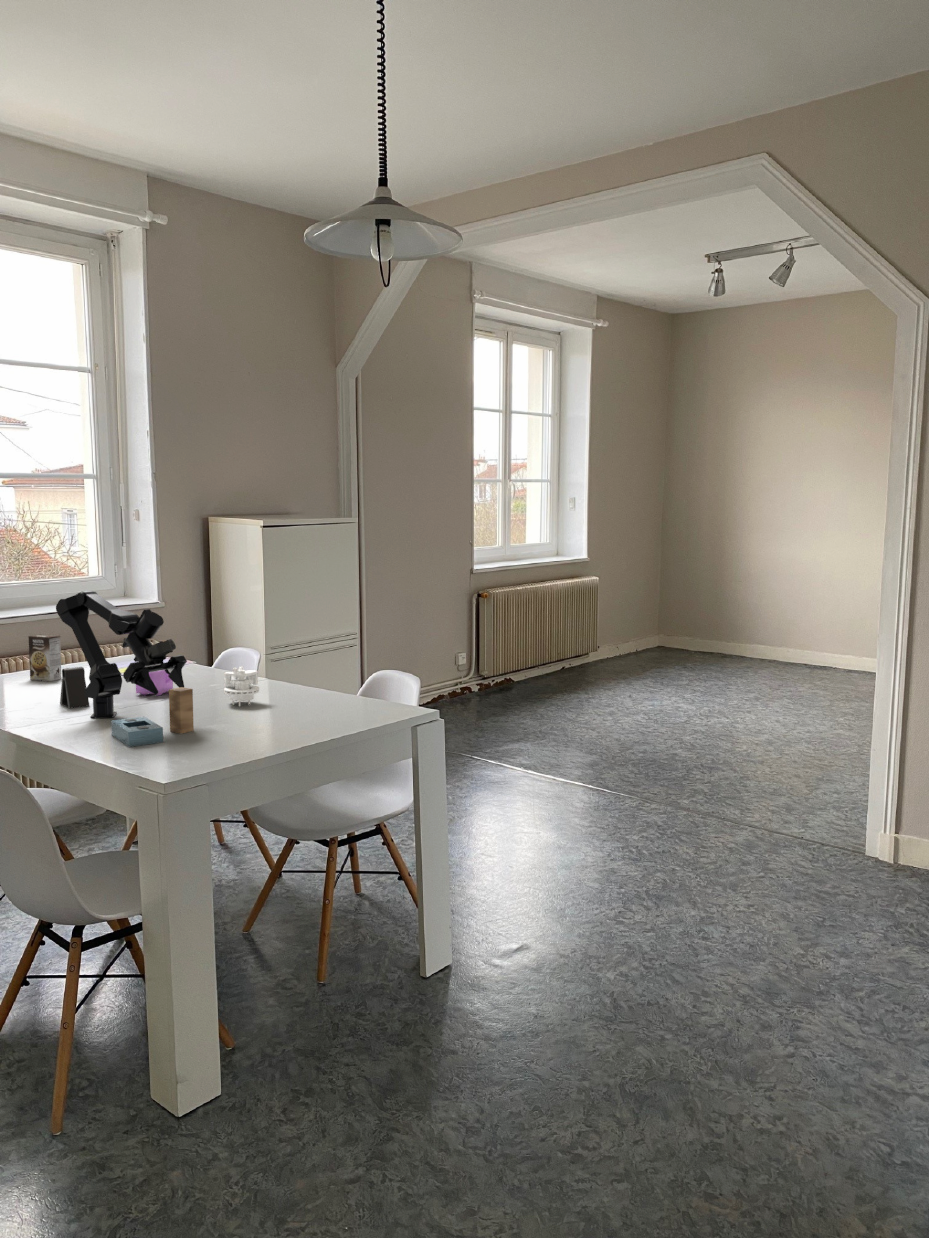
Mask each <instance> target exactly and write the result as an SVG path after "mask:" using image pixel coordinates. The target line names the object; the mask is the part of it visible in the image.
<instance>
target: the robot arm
mask: <svg viewBox="0 0 929 1238" xmlns="http://www.w3.org/2000/svg"><path fill="white" fill-rule="evenodd" d="M89 610H90V611H91V612H93V613H95V614H96V615H97V616H99V617H100V618H102V619H103V620H105V621H106V622H107V624H108V628H109V629H111V631H112V632H113V633H114V634H116V635H117V636H122V635H127V636H126V637H124V638H123V642H122V645H121V646H122V648H123V649H124V648H129V649H130V650H131V652H132V654H133V655H134V658H133V661H134V662H130V663H129V664H128V666H127V668H126V669H125V670H124V672H123V674H122V673H121V671H120V669H119V668H118V664H117V663H116V662H113V663H110V662H108V661H107V659H106V657H105V654H104V653H103V650H102V649H101V647H100V644H99V642H98V640H97V638H96V635H95V634H94V632H93V629H92V627H91V625H90V623H89V615H90V611H89ZM55 611H56V612H57V615H58V617H59V618H60V619H61V620H60V621H62V622H63V623H64V624H65V625H66V626H68V627H69V628H70V629H71V630H72V632H73V634H74V636H75V638H76V640H77V643H78V644H79V646H80V649H81V652H82V653H83V655H84V657H85V659H86V662H87V664H88V666H89V668H90V669H89V676H88V679H89V684H87V685H86V689H85V694H86V697H88V699H92V707H93V708H92V709H93V711H92V712H93V713H92V714H91V715H90V716H89V717H90V719H105V718H106V719H107V718H108V719H109V718H114V717H115V716H116V715H117V714H118V711H115V706H114V696H117V695H120V694H121V690H122V687H123V686H122V684H123V679H124V681H125V682H126V683H127V684H128V683H131V684H132V685H135V686H136V685H138V686H140V687H143V688H145V689H146V690H148V691H150V692H152V693H154V694H153V695H155V696H158V695H157V694H158V690H157V688H156V686H155V684H154V683H153V681H152V680H151V678H150V676H149V672H156V671H161V670H165V672H166V673H167V674H169V675H168V677H169V678H170V679H171V680H172V681H173V684H175V685H176V687H177V688H179V687H184V688H185V683H184V679H183V673H182V671H183V668H184V667H185V665H186V664H187V662H188V660H187V658H185V656H184V655H182V654H181V655H172V656H170V658H169V659H168V660H167V661H166V662H164V660H166V659H167V655H169V654H170V653H173V652H174V650H176V648H177V646H176V644H175V642H174V640H173V639H172V638H171V639H166V640H165V641H160V642H156V643H152V642H151V639H153V638H154V637H155V636H156V635H157V633H158V632H159V631H160V629H161V627H162V626H163V625H164V622H165V621H164V618H163V617H162V616H161V615H159V613H156V612H154V611H152V610H151V609H150V608H147V609H143V611H142V613H141V614H140V616H139V615H138V614H136V613H135V612H131V611H129V610H122V609H120V608H119V607H116V606H115V605H114V604H112V603H111V602H109V601H108V600H106V599H105V598H103V597H102V596H100V595H99V594H98V592H96V591H93V590H87V591H86V590H84V591H81V592H77V594H75V595H71V596H68V597H66V598H60V599H59V600H58V602H57V603H56V606H55ZM121 675H123V676H121ZM122 677H123V678H122Z"/></svg>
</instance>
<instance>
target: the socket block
mask: <svg viewBox="0 0 929 1238" xmlns="http://www.w3.org/2000/svg"><path fill="white" fill-rule="evenodd" d="M110 722H111V735H112V736H113V737H114V738H116V739H117V740H118V741H120V742H121V743H123V744H124V745H126V747H129V748H130V747H138V746H145V745H152V744H160V743H164V728H163V727H162V726H161V725H159V724H157V723H156V722H154V721H153V720H151V719H149V718H148V717H145V716H138V717H131V718H130V717H129V718H128V717H127V718H121V719H114V720H111V721H110Z"/></svg>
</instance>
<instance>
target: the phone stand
mask: <svg viewBox="0 0 929 1238" xmlns="http://www.w3.org/2000/svg"><path fill="white" fill-rule="evenodd" d="M61 677H62V678H61V686H60V698H59V699H60V700H59V704H60V705H61V706H63V707H65V708H68V709H70V710H72V709H76V708H77V709H78V708H85V707H90V700H89V698H88V697H86V694H85V689H86V688H87V683H86V676H85V668H84V666H76V667H75V666H74V667H66V668H61Z"/></svg>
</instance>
